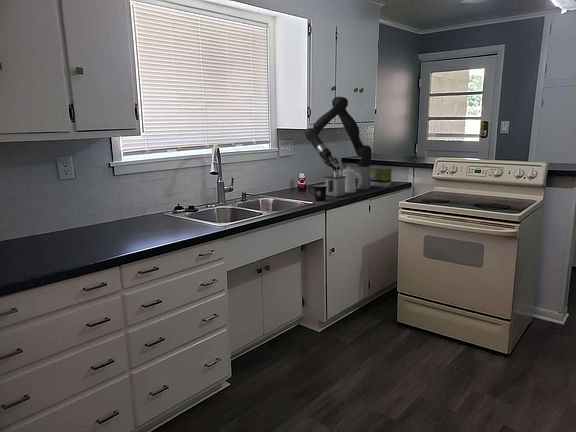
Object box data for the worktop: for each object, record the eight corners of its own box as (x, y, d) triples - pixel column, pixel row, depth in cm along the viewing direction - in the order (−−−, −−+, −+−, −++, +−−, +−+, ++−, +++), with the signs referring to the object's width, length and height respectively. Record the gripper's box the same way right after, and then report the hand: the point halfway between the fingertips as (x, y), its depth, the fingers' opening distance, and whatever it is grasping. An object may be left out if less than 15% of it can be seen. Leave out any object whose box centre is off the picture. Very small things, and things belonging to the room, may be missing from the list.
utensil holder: (333, 194, 316) (333, 175, 313) (345, 195, 309) (345, 176, 306) (323, 196, 307) (323, 176, 304) (335, 198, 300) (335, 178, 297)
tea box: (368, 185, 354) (368, 167, 351) (374, 184, 361) (375, 166, 358) (385, 187, 344) (385, 168, 341) (391, 185, 352) (392, 167, 348)
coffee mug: (329, 200, 294) (329, 185, 292) (320, 202, 288) (320, 187, 286) (316, 198, 302) (316, 183, 300) (307, 200, 296) (307, 185, 294)
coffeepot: (340, 189, 339) (340, 165, 335) (365, 192, 320) (366, 167, 316) (330, 190, 332) (330, 166, 328) (356, 194, 313) (356, 168, 309)
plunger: (333, 190, 313) (333, 163, 309) (342, 191, 308) (342, 164, 304) (327, 192, 308) (327, 164, 304) (336, 193, 303) (336, 165, 299)
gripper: (320, 148, 301) (334, 167, 296) (332, 147, 312) (346, 165, 306) (314, 155, 306) (328, 174, 300) (326, 154, 316) (340, 172, 311)
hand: (337, 169), depth 303 cm, fingers closed on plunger, 3 cm apart
